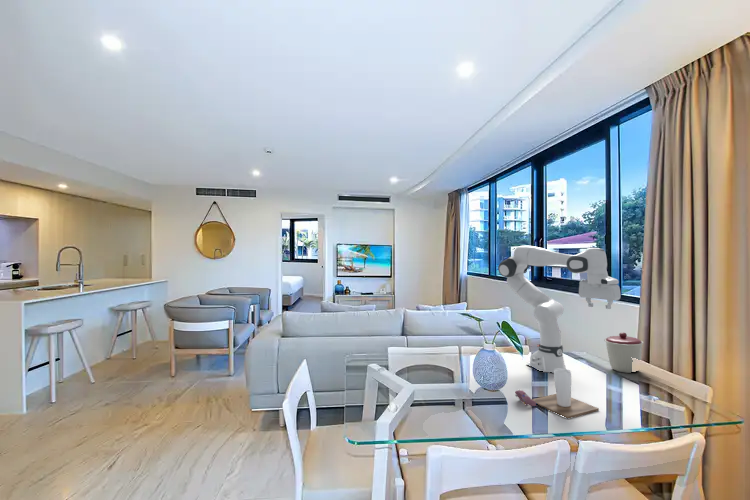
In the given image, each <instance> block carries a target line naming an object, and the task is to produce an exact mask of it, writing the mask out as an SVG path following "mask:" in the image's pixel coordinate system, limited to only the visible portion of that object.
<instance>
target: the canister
mask: <svg viewBox="0 0 750 500" xmlns="http://www.w3.org/2000/svg"><path fill="white" fill-rule="evenodd" d="M627 335H628V334H627V333H626V332H620V333H619V334H618V335H612V336H607V337H606V338H604V342H605V345H606V350H607V351H606V352H607V355H608V356H607V357H608V360H609V365H610V367H611V368H612V369H613V371H616V372H619V373H626V374H632V373H631V372H632V362H633V360H632V358H636V359H638V360H641V361H642V351H643V345H644V341H643V340H641V339H639V338H638V337H633V336H627ZM631 357H632V358H631Z"/></svg>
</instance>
